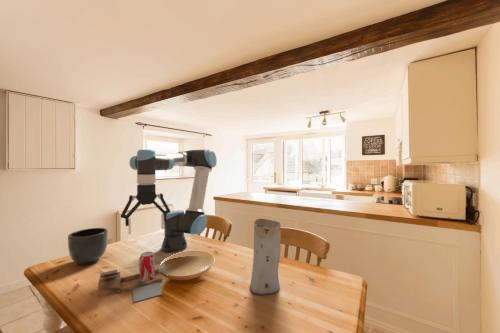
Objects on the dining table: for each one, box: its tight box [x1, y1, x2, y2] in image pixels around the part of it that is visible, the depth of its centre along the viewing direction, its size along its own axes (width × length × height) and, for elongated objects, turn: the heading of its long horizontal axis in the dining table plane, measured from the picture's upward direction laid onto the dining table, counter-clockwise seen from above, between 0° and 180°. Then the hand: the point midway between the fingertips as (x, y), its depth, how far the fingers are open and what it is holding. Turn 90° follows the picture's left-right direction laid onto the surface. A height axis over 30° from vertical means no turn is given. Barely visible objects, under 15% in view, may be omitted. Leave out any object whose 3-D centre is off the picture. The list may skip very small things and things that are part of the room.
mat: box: [132, 282, 163, 304], centre depth 89 cm, size 10×10×1 cm
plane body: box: [97, 269, 163, 297], centre depth 95 cm, size 24×10×5 cm, turn 120°
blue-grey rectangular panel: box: [99, 269, 120, 278], centre depth 89 cm, size 7×1×8 cm
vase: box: [249, 218, 282, 296], centre depth 92 cm, size 13×14×28 cm
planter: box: [67, 227, 108, 266], centre depth 118 cm, size 17×17×16 cm
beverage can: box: [138, 251, 156, 283], centre depth 99 cm, size 6×6×12 cm
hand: (146, 230), depth 98 cm, fingers open, 13 cm apart
